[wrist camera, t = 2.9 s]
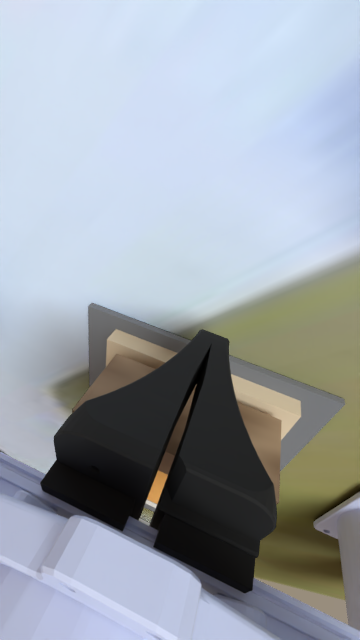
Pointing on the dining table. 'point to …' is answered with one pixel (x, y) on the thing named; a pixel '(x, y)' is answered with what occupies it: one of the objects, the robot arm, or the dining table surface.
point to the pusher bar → (258, 424)
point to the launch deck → (248, 379)
